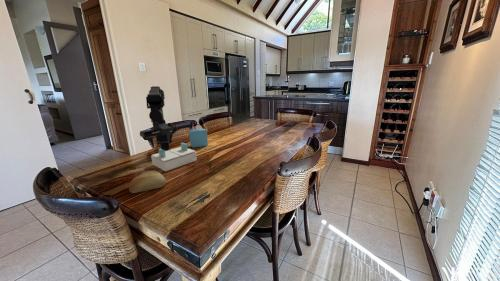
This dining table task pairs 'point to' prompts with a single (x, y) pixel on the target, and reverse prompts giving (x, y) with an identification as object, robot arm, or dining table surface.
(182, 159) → the carton
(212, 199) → the dining table surface
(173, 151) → the far flap
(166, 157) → the near flap
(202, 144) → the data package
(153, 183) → the bread roll
